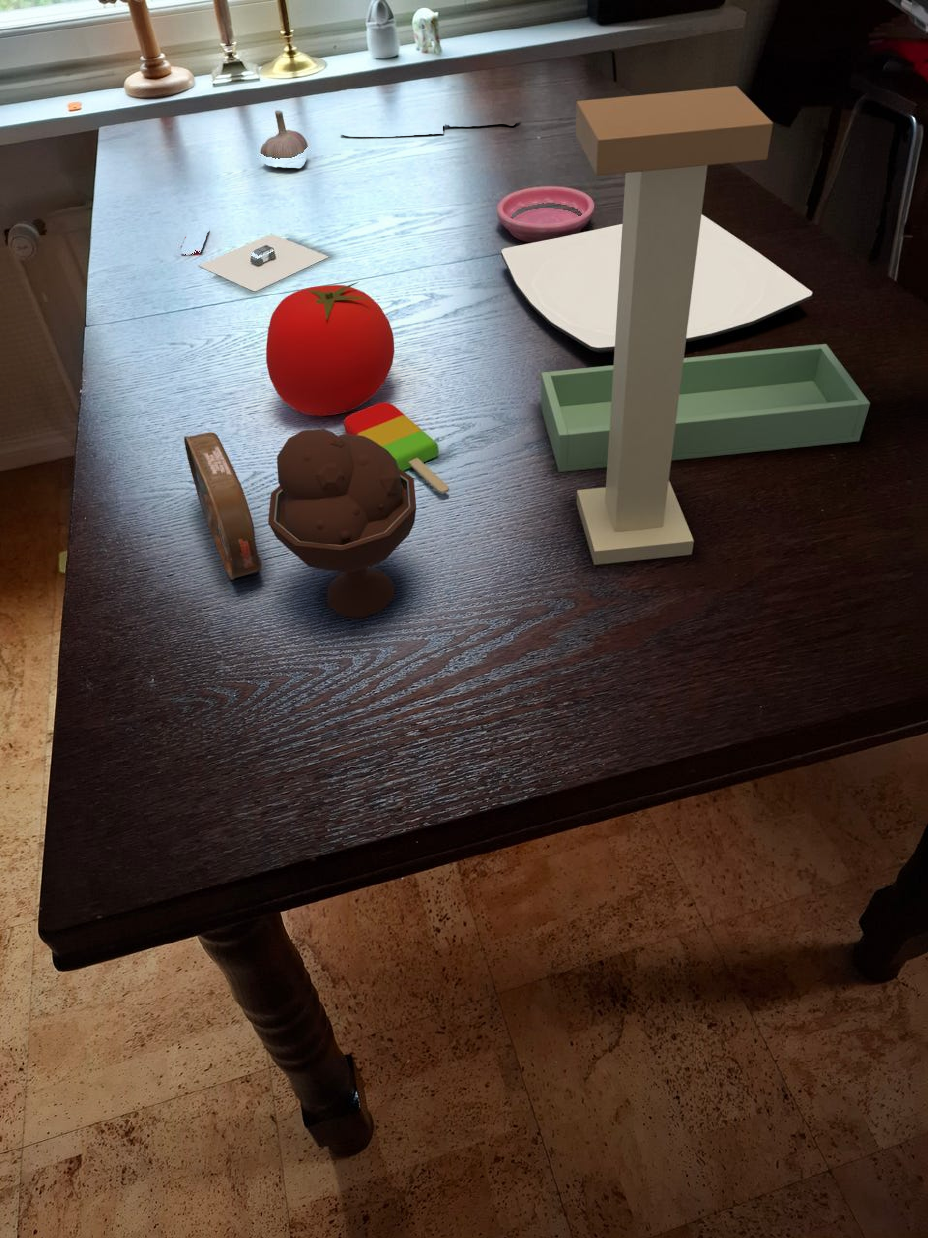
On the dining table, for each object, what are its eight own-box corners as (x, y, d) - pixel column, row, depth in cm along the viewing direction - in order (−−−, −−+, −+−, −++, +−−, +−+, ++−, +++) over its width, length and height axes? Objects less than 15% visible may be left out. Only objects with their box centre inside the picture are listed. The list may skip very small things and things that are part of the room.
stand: (679, 493, 80) (734, 82, 57) (704, 553, 74) (776, 125, 51) (565, 504, 80) (574, 97, 57) (581, 566, 74) (599, 142, 51)
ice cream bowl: (348, 665, 68) (311, 506, 57) (267, 591, 74) (220, 435, 63) (456, 595, 72) (441, 435, 62) (371, 531, 79) (344, 375, 68)
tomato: (247, 409, 93) (219, 303, 85) (343, 351, 100) (325, 248, 92) (331, 450, 87) (310, 340, 79) (427, 386, 94) (416, 279, 86)
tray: (817, 380, 91) (826, 343, 88) (859, 441, 83) (870, 403, 81) (541, 408, 90) (541, 372, 87) (558, 472, 83) (559, 435, 80)
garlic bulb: (313, 171, 139) (303, 114, 133) (265, 178, 138) (253, 120, 133) (308, 154, 144) (298, 98, 139) (262, 161, 144) (250, 105, 138)
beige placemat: (198, 265, 118) (195, 254, 117) (271, 233, 124) (269, 222, 123) (254, 291, 112) (252, 279, 111) (329, 256, 118) (327, 244, 117)
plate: (486, 268, 112) (485, 247, 111) (693, 222, 118) (695, 201, 116) (586, 381, 93) (587, 357, 91) (827, 320, 99) (833, 296, 97)
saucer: (597, 246, 115) (598, 221, 113) (497, 251, 116) (497, 226, 113) (589, 206, 124) (590, 182, 121) (497, 211, 124) (496, 187, 122)
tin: (197, 498, 83) (170, 419, 77) (231, 488, 84) (207, 409, 78) (237, 601, 74) (210, 519, 68) (275, 588, 74) (252, 507, 68)
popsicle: (390, 413, 91) (388, 397, 90) (472, 487, 82) (471, 470, 81) (341, 433, 89) (338, 416, 88) (419, 511, 80) (417, 494, 79)
